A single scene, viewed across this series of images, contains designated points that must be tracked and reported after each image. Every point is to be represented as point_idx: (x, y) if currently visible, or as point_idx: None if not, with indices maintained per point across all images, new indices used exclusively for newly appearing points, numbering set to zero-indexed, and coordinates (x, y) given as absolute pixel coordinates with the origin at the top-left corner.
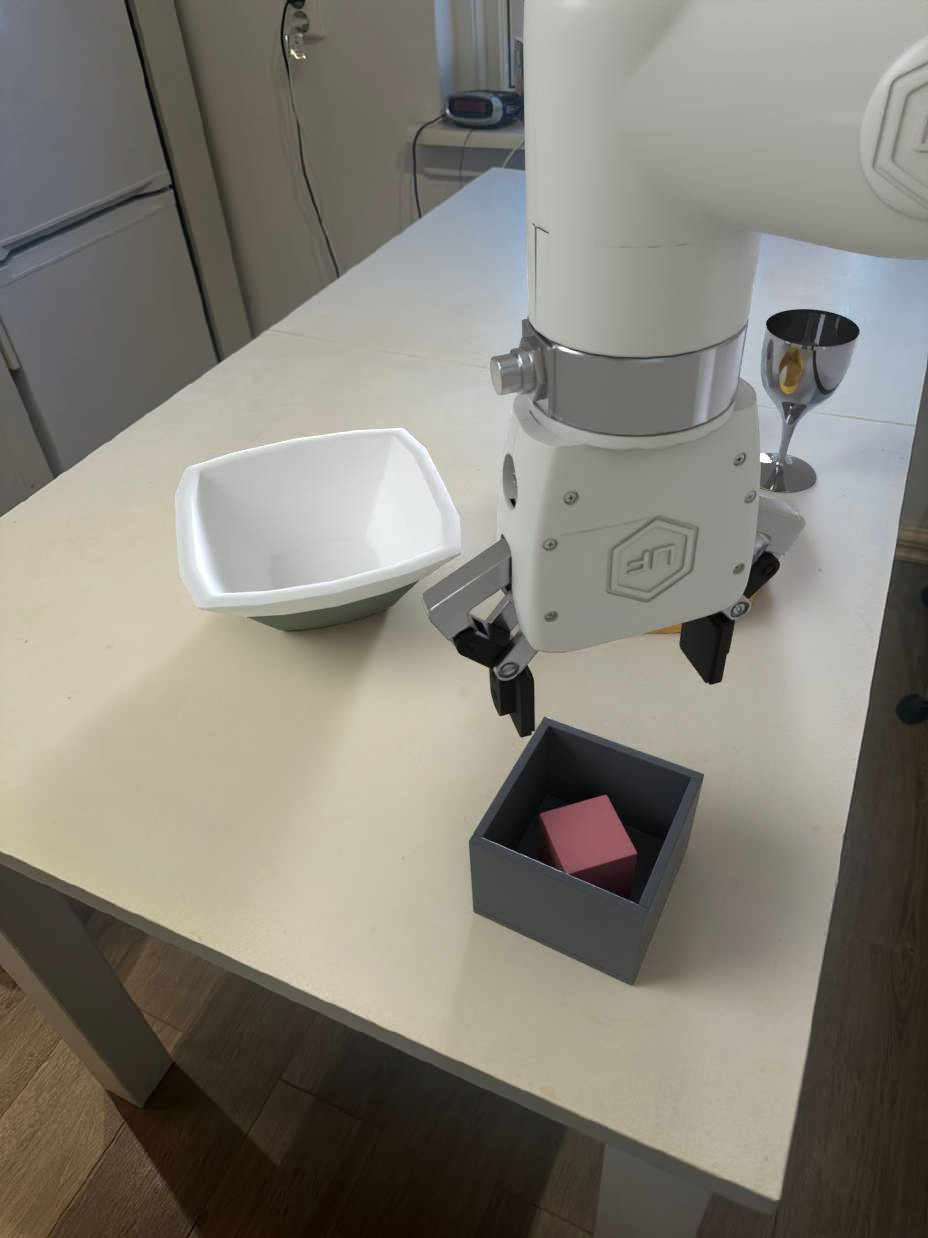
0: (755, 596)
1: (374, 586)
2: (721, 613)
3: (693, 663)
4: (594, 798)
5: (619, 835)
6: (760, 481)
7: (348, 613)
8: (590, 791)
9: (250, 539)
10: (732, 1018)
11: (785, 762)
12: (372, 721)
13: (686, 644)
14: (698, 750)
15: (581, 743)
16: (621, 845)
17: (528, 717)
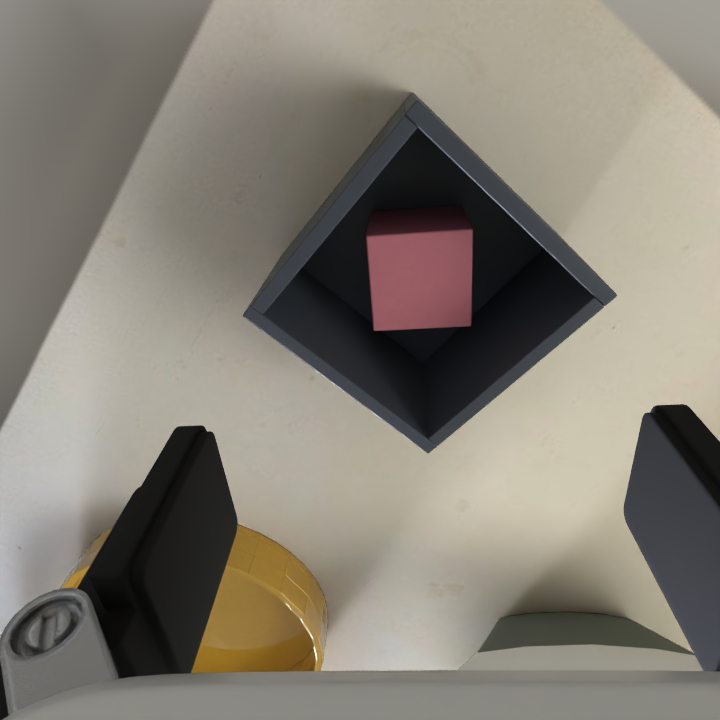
0: (100, 535)
1: (562, 669)
2: (111, 615)
3: (223, 482)
4: (392, 329)
5: (380, 268)
6: None
7: (564, 625)
8: (380, 347)
9: None
10: (304, 15)
11: (129, 334)
12: (577, 496)
13: (225, 529)
14: (225, 373)
15: (391, 404)
16: (383, 253)
17: (702, 445)
